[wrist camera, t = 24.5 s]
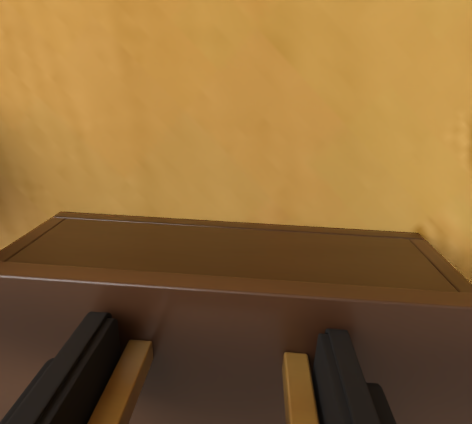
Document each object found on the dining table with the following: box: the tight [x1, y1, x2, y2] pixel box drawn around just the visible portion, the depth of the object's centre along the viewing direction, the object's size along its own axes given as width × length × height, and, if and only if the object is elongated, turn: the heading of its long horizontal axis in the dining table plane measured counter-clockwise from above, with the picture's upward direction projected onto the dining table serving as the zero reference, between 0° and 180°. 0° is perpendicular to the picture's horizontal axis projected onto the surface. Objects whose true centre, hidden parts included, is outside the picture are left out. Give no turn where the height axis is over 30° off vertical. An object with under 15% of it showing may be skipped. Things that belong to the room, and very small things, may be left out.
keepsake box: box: [0, 212, 472, 293], centre depth 16 cm, size 15×16×6 cm
